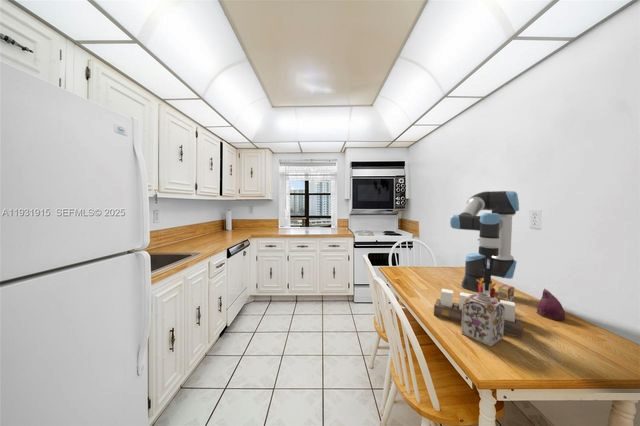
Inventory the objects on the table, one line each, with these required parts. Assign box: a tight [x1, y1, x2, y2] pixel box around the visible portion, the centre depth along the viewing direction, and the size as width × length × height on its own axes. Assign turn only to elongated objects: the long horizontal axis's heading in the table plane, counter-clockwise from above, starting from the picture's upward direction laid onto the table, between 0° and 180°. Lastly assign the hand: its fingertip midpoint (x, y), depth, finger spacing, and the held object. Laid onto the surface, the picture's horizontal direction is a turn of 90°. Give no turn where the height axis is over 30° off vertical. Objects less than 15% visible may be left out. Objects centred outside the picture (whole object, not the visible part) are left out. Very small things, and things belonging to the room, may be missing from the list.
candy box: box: [496, 284, 515, 302], centre depth 119 cm, size 9×4×15 cm, turn 123°
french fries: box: [476, 278, 497, 299], centre depth 136 cm, size 9×8×15 cm
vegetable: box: [536, 288, 566, 322], centre depth 122 cm, size 10×10×15 cm
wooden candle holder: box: [433, 298, 524, 338], centre depth 114 cm, size 10×34×5 cm, turn 56°
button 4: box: [500, 300, 517, 322], centre depth 107 cm, size 5×5×7 cm
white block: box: [458, 291, 471, 310], centre depth 116 cm, size 5×5×7 cm
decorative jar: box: [460, 292, 505, 347], centre depth 101 cm, size 12×12×18 cm
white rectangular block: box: [440, 288, 454, 308], centre depth 121 cm, size 5×5×7 cm
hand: (486, 296), depth 112 cm, fingers closed
